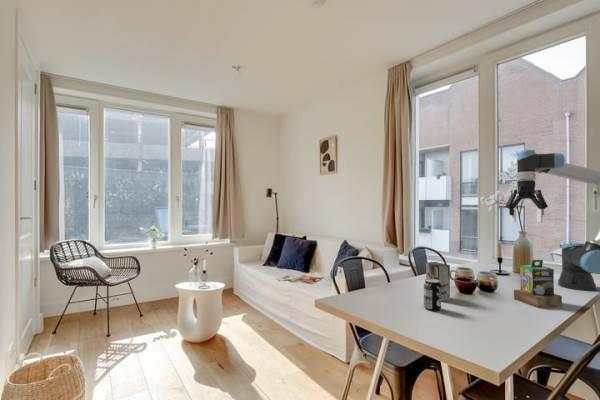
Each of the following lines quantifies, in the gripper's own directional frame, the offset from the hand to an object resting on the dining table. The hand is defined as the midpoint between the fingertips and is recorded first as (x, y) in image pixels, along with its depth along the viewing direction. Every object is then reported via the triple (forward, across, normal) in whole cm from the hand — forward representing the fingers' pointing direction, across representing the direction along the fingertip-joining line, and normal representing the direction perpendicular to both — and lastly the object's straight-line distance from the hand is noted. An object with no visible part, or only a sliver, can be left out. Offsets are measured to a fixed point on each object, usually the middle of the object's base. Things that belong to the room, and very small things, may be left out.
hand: (526, 221), depth 162 cm
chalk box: (+30, +11, +21) cm, 38 cm away
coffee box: (+35, +52, +14) cm, 64 cm away
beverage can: (+35, +61, +29) cm, 76 cm away
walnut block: (+35, +11, +21) cm, 43 cm away
